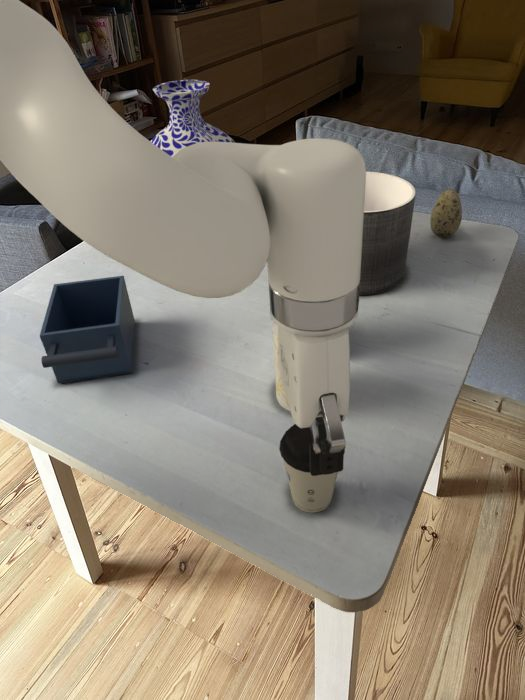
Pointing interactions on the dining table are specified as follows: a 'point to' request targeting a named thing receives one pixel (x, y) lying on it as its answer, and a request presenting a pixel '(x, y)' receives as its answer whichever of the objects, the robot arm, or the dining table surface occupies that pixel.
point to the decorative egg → (446, 214)
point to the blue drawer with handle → (89, 330)
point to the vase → (185, 117)
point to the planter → (385, 231)
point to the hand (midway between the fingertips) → (314, 434)
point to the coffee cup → (305, 470)
